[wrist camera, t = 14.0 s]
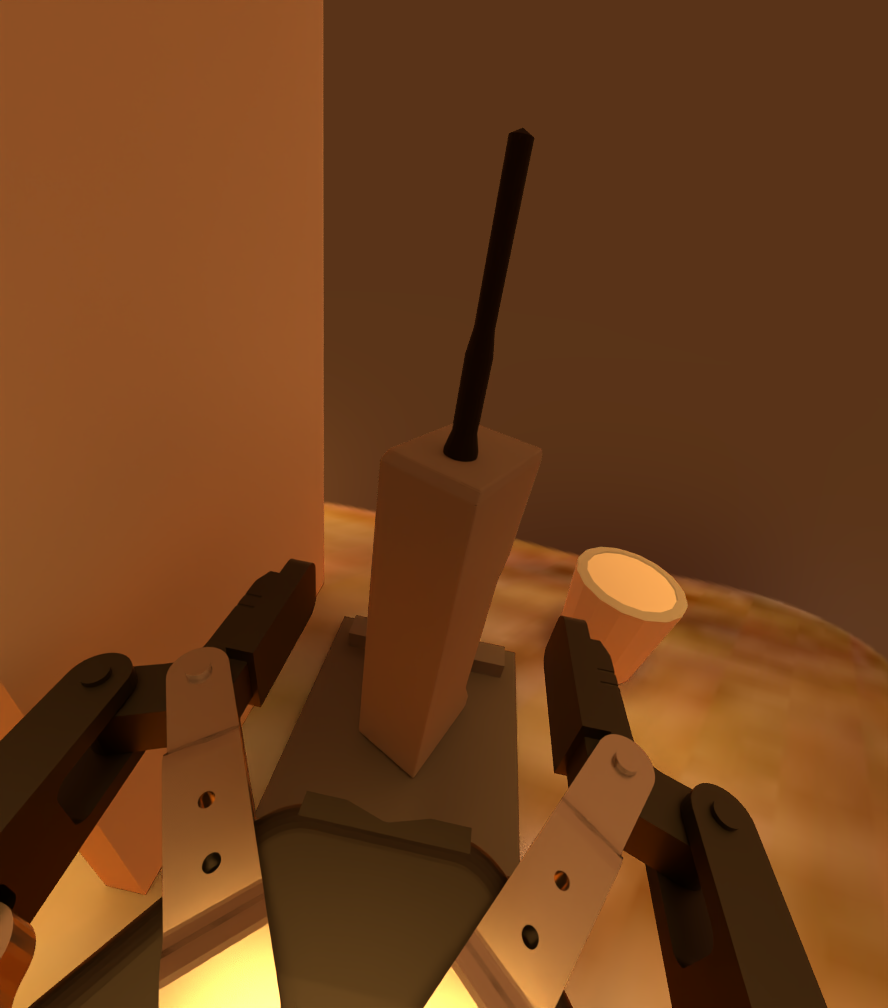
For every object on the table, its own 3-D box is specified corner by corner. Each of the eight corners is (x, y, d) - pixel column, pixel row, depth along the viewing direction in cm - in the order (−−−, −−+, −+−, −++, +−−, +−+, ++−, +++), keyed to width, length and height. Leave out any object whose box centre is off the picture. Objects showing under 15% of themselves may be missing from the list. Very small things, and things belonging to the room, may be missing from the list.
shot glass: (654, 705, 26) (707, 632, 23) (550, 681, 27) (585, 605, 23) (628, 625, 32) (667, 557, 29) (543, 606, 33) (571, 536, 29)
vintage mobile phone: (464, 708, 24) (633, 167, 11) (412, 782, 20) (573, 94, 7) (415, 671, 25) (509, 159, 12) (357, 733, 22) (407, 96, 9)
